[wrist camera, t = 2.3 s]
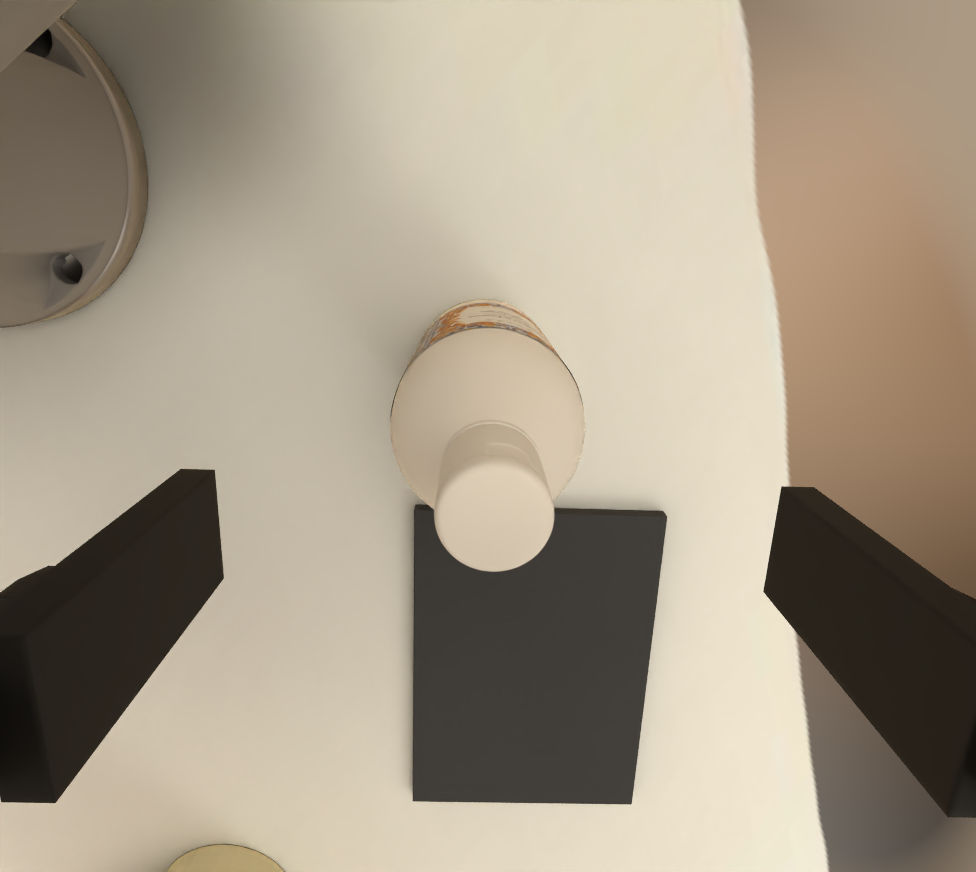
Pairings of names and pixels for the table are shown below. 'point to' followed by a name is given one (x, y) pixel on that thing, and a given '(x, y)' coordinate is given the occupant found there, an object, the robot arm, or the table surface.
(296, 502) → the table surface
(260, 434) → the table surface
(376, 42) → the table surface
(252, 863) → the reusable coffee cup
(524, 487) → the bath foam
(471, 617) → the desk mat
